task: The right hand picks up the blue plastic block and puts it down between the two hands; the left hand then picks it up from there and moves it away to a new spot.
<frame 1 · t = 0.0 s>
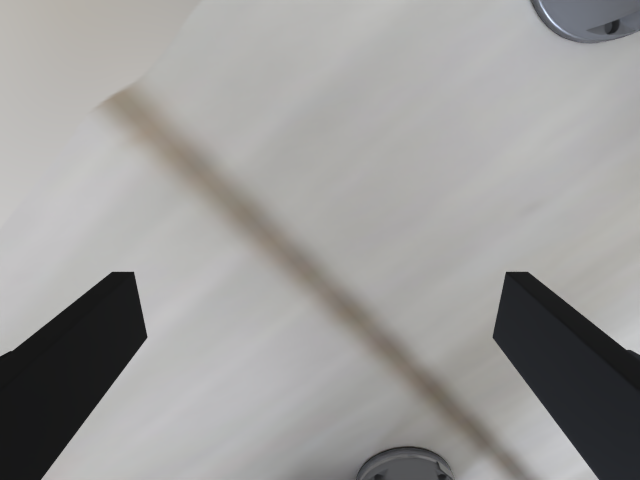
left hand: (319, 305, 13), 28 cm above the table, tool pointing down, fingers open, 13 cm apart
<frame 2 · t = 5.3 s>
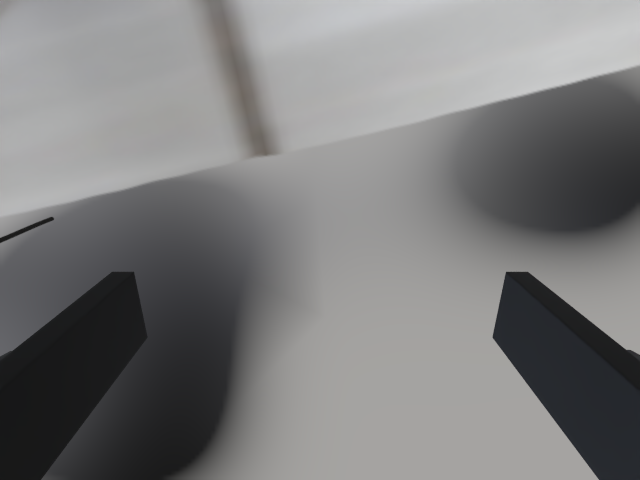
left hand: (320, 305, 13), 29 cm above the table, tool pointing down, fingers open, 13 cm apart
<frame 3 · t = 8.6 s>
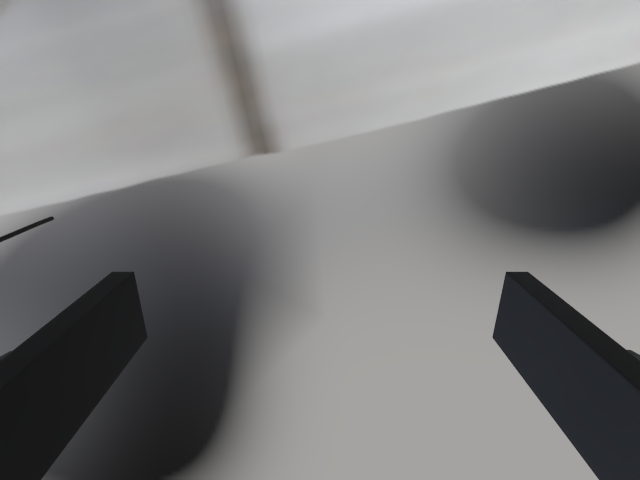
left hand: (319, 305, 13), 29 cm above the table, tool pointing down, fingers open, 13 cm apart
when the right hand's fingers open (3 cm above the table, at t = 12.1 s): block stays where it is, on the table.
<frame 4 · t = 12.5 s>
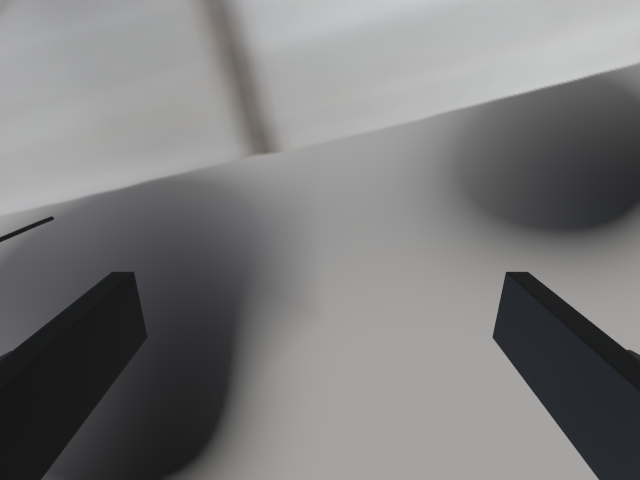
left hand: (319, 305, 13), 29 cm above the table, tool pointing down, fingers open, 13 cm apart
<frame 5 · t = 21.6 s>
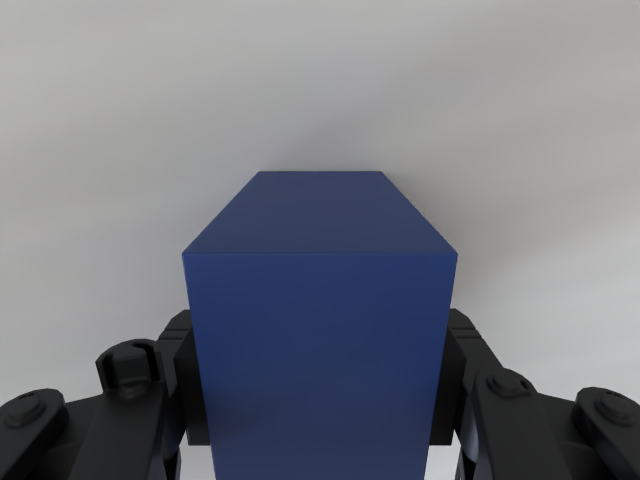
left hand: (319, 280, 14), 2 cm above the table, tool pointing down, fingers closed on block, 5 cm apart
block: (319, 261, 16), on the table, touching left hand
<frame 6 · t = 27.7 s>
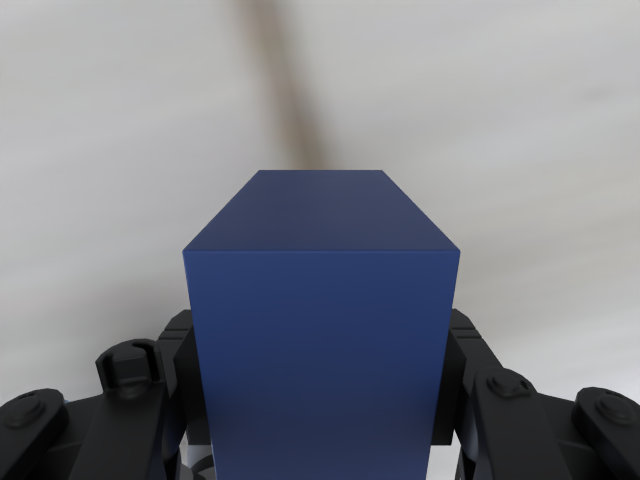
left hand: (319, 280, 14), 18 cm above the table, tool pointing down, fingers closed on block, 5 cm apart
block: (320, 260, 16), point 17 cm above the table, touching left hand
when the left hand's fingers open (3 cm above the table, at t = 34.0 s): block stays where it is, on the table.
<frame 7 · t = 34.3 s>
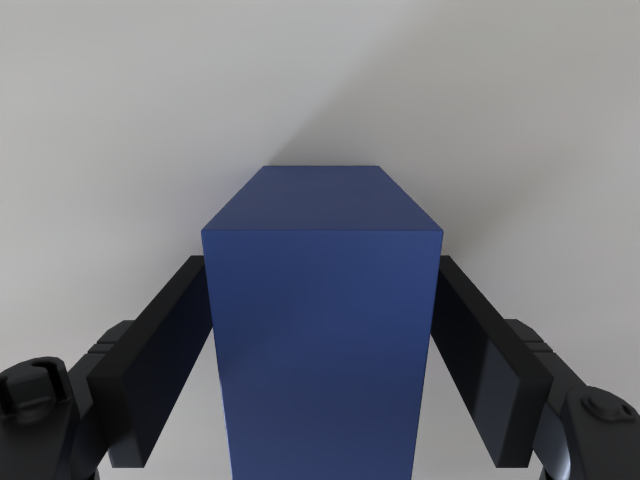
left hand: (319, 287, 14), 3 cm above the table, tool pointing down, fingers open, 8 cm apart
block: (321, 252, 17), on the table
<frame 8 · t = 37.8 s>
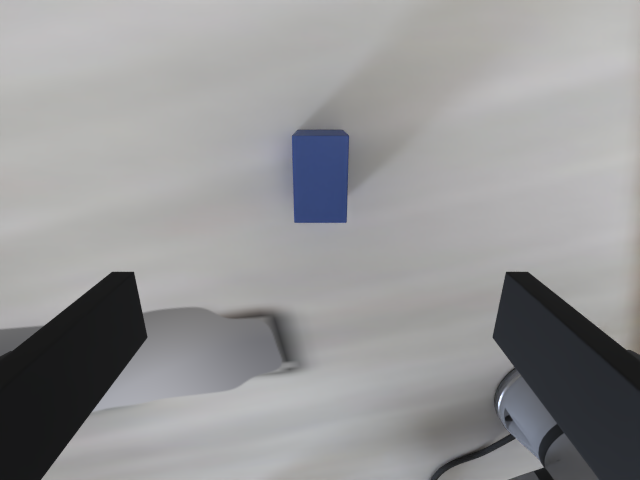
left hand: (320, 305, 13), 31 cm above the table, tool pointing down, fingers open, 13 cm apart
block: (320, 166, 42), on the table
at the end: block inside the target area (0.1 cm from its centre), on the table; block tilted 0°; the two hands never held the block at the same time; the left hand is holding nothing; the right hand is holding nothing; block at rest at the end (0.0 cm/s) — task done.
